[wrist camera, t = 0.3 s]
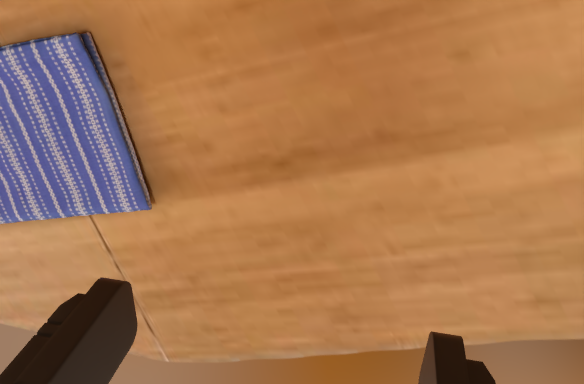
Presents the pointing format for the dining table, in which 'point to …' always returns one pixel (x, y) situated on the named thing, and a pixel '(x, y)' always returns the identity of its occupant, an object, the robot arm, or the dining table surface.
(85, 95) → the dish towel
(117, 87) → the dining table surface
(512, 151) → the dining table surface
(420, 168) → the dining table surface
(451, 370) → the robot arm
